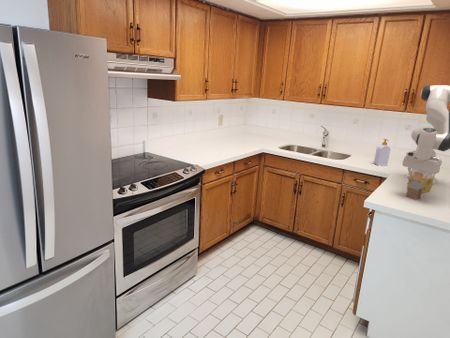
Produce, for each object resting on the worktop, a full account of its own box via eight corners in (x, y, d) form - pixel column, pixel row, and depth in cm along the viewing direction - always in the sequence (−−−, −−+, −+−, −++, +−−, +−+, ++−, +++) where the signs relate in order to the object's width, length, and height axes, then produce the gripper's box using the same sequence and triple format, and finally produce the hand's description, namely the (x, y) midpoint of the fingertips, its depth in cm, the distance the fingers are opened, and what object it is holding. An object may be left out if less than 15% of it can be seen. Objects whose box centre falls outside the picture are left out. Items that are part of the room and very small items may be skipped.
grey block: (412, 186, 204) (414, 179, 202) (421, 189, 200) (422, 181, 199) (409, 187, 201) (411, 180, 199) (417, 190, 197) (419, 182, 196)
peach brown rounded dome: (414, 179, 202) (416, 171, 201) (422, 181, 199) (424, 173, 197) (410, 180, 199) (412, 172, 198) (419, 182, 196) (421, 174, 194)
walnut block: (410, 195, 206) (412, 186, 205) (420, 198, 202) (422, 189, 200) (405, 196, 203) (408, 187, 201) (415, 199, 198) (418, 190, 196)
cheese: (420, 193, 211) (423, 178, 208) (405, 187, 221) (408, 174, 218) (430, 192, 215) (434, 177, 213) (415, 186, 225) (419, 173, 222)
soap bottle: (378, 166, 276) (383, 139, 270) (373, 163, 282) (378, 138, 276) (387, 166, 277) (393, 140, 271) (382, 164, 284) (388, 138, 277)
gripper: (444, 158, 189) (438, 180, 193) (408, 151, 204) (403, 171, 208) (440, 159, 185) (434, 182, 189) (403, 151, 200) (399, 173, 204)
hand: (418, 176), depth 198 cm, fingers open, 8 cm apart
